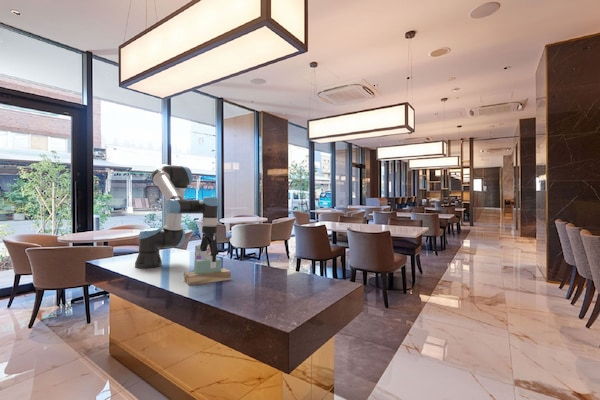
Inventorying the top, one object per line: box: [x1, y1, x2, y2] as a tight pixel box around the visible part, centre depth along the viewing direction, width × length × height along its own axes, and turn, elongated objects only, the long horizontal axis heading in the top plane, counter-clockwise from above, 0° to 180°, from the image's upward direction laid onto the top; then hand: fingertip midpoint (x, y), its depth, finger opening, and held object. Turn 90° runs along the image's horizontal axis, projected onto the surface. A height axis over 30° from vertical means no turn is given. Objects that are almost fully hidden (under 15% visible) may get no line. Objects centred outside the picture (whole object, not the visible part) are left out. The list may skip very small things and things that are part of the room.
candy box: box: [194, 243, 211, 261], centre depth 178 cm, size 14×6×16 cm, turn 179°
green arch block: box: [193, 257, 223, 274], centre depth 158 cm, size 4×13×10 cm, turn 128°
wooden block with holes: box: [183, 267, 232, 286], centre depth 158 cm, size 9×22×4 cm, turn 128°
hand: (208, 265), depth 158 cm, fingers open, 13 cm apart
